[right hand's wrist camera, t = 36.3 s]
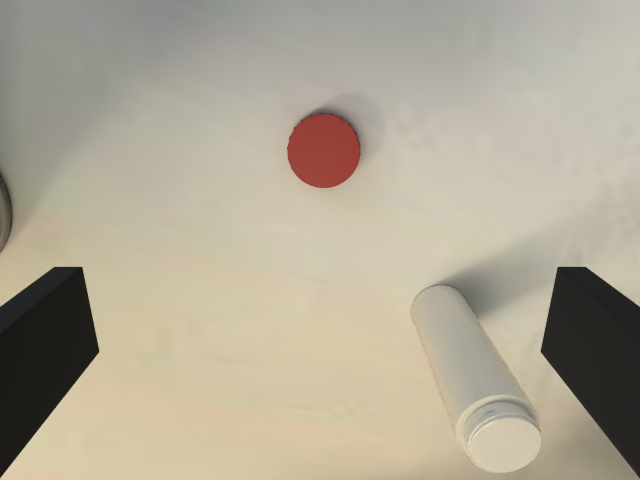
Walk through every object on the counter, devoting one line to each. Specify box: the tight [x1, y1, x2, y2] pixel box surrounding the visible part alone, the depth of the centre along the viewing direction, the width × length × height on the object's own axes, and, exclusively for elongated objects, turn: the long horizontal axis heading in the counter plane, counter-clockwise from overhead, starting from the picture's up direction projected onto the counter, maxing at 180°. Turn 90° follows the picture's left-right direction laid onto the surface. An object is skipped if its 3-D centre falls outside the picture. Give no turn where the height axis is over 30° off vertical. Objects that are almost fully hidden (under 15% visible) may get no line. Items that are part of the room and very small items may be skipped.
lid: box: [287, 112, 360, 188], centre depth 38 cm, size 6×6×2 cm
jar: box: [411, 285, 542, 473], centre depth 36 cm, size 6×6×17 cm
